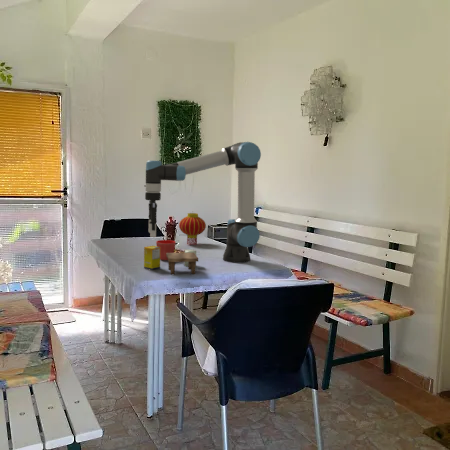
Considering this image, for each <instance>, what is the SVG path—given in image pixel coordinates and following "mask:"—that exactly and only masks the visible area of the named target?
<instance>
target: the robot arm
mask: <svg viewBox="0 0 450 450" xmlns="http://www.w3.org/2000/svg"><path fill="white" fill-rule="evenodd" d="M261 156H262V153H261V149H260V148H259V146H258V145H257V144H256V143H253V142H250V141H244V142H243V141H242V142H241V141H240V142H236V143H233V144H232V145H229V146H226V147H222V148H221V150H219V151H216V152H211V153H207V154H204V155H200V156H195V157H192V158H188V159H184V160H181V161H177V162H173V163H170V164H169V163H168V164H162V161H161V160H146V163H145V185H144V188H145V196H144V199H145V200H146V201H149V203H148V233H149V234H150V235H149V236H150V238H156V237H157V221H158V220H157V210H158V208H157V207H158V204H157V203H156V201H161V197H162V194H161V192H162V181H172V182H173V181H174V182H175V181H176V182H179V181H180V182H181V181H185V180H186V176H187V175H190V174H193V173H198V172H201V171H206V170H209V169H213V168H216V167H220V166H224V165H225V166H227V167H228V166H231V165H235V166H234V168H235V170H236V171H237V218H235V219H234V218H231V219H230V218H229V219H228V220H227V224H226V228H227V230H226V246H225V248H224V249H225V250H224V251H223V252H224V253H223V255H222V259H223V261H225V262H228V263H229V262H230V263H248V262H250V261H251V254H250V251H249V248H251V247H253V246H255V245H256V244H258V242H259V240H260V237H261V236H260V231H259V229H258V221H257V219H256V218H255V177H256V176H255V173H256V171H257V170H258V169H259V168H258V167H259V166H258V165H259V162H260V160H261Z"/></svg>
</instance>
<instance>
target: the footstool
mask: <svg viewBox="0 0 450 450" xmlns="http://www.w3.org/2000/svg"><path fill="white" fill-rule="evenodd" d="M166 256H167V258H168V260H167V261H168V270H170V275H172V274H174V275H175V274H176V270H175V269H176V263H182V262H183V263H185V262H188V267H187V268H188V270H190V271H191V272H190V274H192V275H196V267H197V262H199V257H198V256H197V254H196V255H195V253H185V252H174V253H166ZM195 266H196V267H195Z"/></svg>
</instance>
